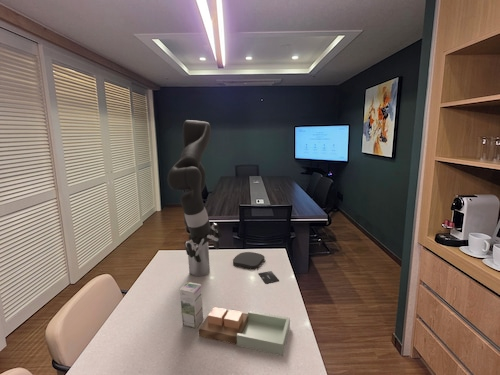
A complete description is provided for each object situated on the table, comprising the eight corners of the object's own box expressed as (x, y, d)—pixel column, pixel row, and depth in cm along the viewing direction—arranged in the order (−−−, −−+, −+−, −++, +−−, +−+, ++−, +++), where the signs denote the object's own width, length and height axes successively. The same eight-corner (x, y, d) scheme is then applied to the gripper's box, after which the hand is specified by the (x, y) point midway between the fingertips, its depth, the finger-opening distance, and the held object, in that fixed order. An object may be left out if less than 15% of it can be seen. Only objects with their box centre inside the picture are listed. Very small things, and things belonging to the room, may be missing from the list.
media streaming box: (255, 271, 141) (255, 265, 141) (230, 266, 147) (230, 260, 147) (266, 259, 154) (266, 254, 153) (242, 254, 160) (242, 250, 160)
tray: (237, 345, 92) (236, 335, 91) (249, 320, 104) (248, 310, 103) (282, 355, 87) (282, 344, 86) (289, 328, 99) (289, 318, 99)
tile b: (224, 326, 97) (224, 318, 96) (229, 317, 101) (229, 309, 101) (238, 329, 95) (237, 321, 94) (242, 319, 100) (242, 312, 99)
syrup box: (203, 318, 105) (201, 283, 102) (196, 329, 100) (193, 291, 97) (190, 315, 107) (188, 280, 104) (182, 326, 102) (179, 289, 99)
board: (199, 336, 96) (198, 328, 96) (213, 314, 107) (213, 307, 107) (237, 344, 92) (237, 336, 91) (248, 321, 103) (248, 314, 103)
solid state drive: (265, 284, 129) (265, 283, 128) (258, 274, 138) (258, 273, 138) (279, 282, 131) (279, 280, 130) (271, 272, 140) (271, 270, 140)
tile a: (208, 323, 98) (207, 315, 98) (214, 314, 103) (214, 306, 102) (221, 325, 97) (221, 317, 96) (227, 316, 101) (226, 309, 101)
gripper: (207, 206, 104) (216, 240, 112) (174, 226, 97) (186, 261, 104) (219, 213, 99) (228, 248, 107) (186, 234, 91) (198, 270, 99)
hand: (208, 254), depth 106 cm, fingers open, 8 cm apart
